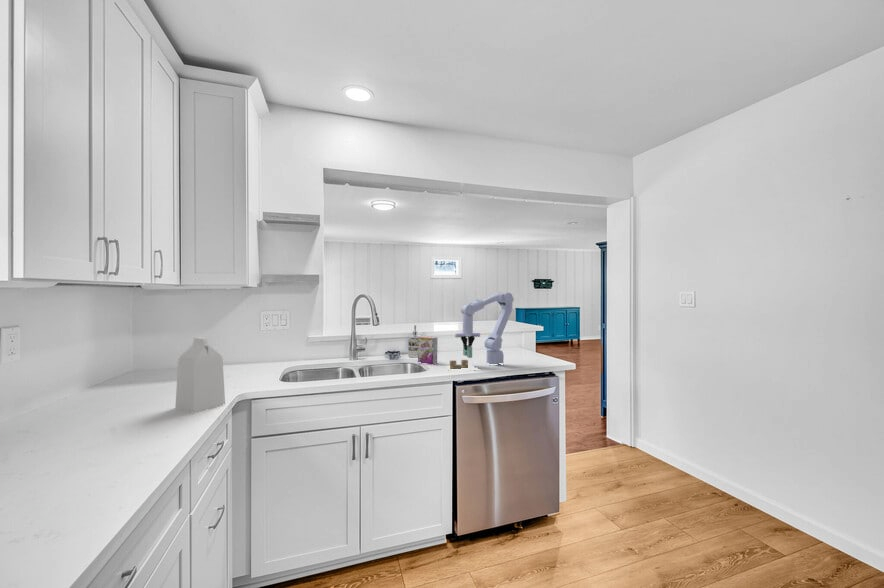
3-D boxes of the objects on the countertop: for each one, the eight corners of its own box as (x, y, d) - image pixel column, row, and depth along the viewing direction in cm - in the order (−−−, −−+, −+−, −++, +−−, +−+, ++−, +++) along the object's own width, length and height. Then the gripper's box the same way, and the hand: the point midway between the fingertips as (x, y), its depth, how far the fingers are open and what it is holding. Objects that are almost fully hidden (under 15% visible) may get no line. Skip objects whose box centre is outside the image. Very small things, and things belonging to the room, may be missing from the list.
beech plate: (466, 368, 208) (466, 359, 208) (467, 369, 207) (467, 360, 207) (449, 369, 206) (449, 360, 205) (450, 370, 204) (450, 361, 204)
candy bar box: (417, 363, 225) (417, 336, 224) (422, 362, 229) (422, 335, 229) (433, 366, 219) (433, 338, 218) (437, 364, 223) (437, 337, 223)
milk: (175, 408, 140) (175, 338, 140) (206, 400, 150) (206, 335, 150) (193, 413, 134) (193, 341, 134) (225, 404, 145) (225, 337, 144)
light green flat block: (465, 354, 219) (466, 344, 219) (472, 357, 209) (472, 347, 209) (463, 354, 218) (463, 344, 218) (469, 357, 209) (469, 347, 209)
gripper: (458, 326, 208) (457, 351, 208) (482, 326, 212) (482, 350, 212) (454, 325, 215) (453, 349, 215) (477, 325, 219) (477, 348, 219)
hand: (467, 349), depth 214 cm, fingers closed on light green flat block, 2 cm apart
